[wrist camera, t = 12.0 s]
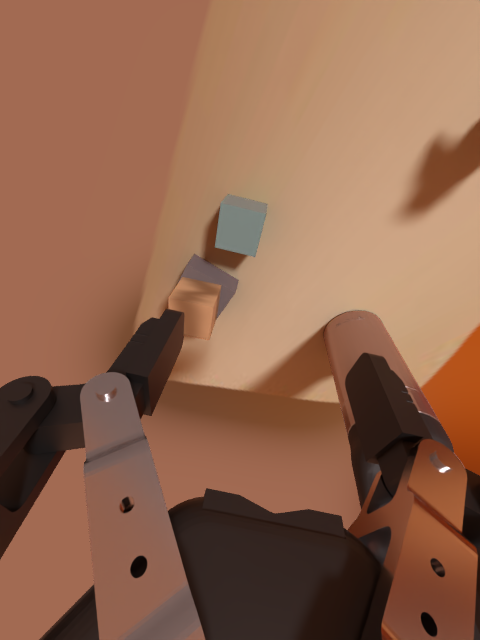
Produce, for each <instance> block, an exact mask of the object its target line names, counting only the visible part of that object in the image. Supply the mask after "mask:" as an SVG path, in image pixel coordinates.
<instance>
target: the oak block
mask: <svg viewBox="0 0 480 640" xmlns="http://www.w3.org/2000/svg"><path fill="white" fill-rule="evenodd" d="M220 292H221V285H218V284H214V283H209V282H204V281H200V280H195V279H190V278H185V277H182V278H181V280H180V281H179V283H178V284H177V286H176V287H175V289H174V290H173V292H172V293H171V295H170V296H169V298H168V307H169V309H171V310H176V311H180V312H184V315H185V317H184V335H186V336H191V337H195V338H200V339H205V340H209V339H210V336H211V333H212V330H213V327H214V324H215V321H216V318H217V313H218V306H219V299H220Z"/></svg>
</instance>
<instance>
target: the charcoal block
mask: <svg viewBox="0 0 480 640" xmlns="http://www.w3.org/2000/svg"><path fill="white" fill-rule="evenodd" d="M182 277H185V278H190V279H195V280H200V281H204V282H209V283H214V284H218V285H221V292H220V299H219V306H218V313H217V318H218V316H219V315H220V314H221V312H222V311H223V309H224V308H225V307H226V305H227V304H228V302H229V301H230V299H231V298H232V297H233V295H234V294H235V292H236V288H237V284H238V279H236V278H234V277H233V276H231V275H229V274H227V273H226V272H224V271H222V270H221V269H219V268H217V267H216V266H214V265H212V264H211V263H209V262H207V261H206V260H204V259H202V258H201V257H199V256H197V255H196V254H194V255H193V257H192V258H191V260H190V261H189V262H188V264H187V266H186V268H185V270H184V272H183V274H182V276H181V278H182ZM181 278H180V280H181ZM180 280H179V281H180ZM178 283H179V282H178ZM217 318H216V319H217Z"/></svg>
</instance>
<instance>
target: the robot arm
mask: <svg viewBox="0 0 480 640" xmlns="http://www.w3.org/2000/svg"><path fill="white" fill-rule="evenodd" d="M184 317H185V315H184V312H180V311H176V310H171V309H166V310H165V311H164V313H163V314H162V316H161V318H160V319H157V318H150V319H149V320H147V321H146V322H144V323H142V324H141V326H140V327H139V328H138V330H137V331H136V333H135V334H134V335H133V337H132V338H131V340H130V342H128V344H127V345H126V347H125V348H124V350H123V351H122V352H121V354H120V355H119V356H118V358H117V359H116V360H115V362H114V363H113V365H112V366H111V367H110V369H109V370H108V371H107V372H106V373H103V374H100V375H97V376H95V377H93V378H92V379H90V380H89V381H88V382H87V383H85V384H80V385H69V386H54V387H52V386H51V384H50V382H49V381H48V380H47V379H45V378H43V377H39V376H28V377H22V378H19V379H16V380H13V381H11V382H9V383H7V384H6V385H4V386H2V387H1V388H0V559H1V557H2V556H3V554H4V552H5V551H6V549H7V547H8V546H9V544H10V542H11V541H12V539H13V537H14V535H15V534H16V532H17V531H18V529H19V527H20V526H21V524H22V522H23V521H24V519H25V517H26V516H27V514H28V513H29V511H30V509H31V507H32V506H33V504H34V502H35V501H36V499H37V498H38V496H39V494H40V492H41V491H42V489H43V488H44V486H45V484H46V483H47V481H48V479H49V478H50V476H51V474H52V473H53V471H54V469H55V468H56V466H57V465H58V463H59V461H60V460H61V458H62V456H63V455H64V453H65V451H66V450H71V449H78V448H86V461H85V462H84V482H85V493H86V503H87V513H88V524H89V534H90V545H91V555H92V567H93V577H94V585H93V586H92V587H91V588H90V589H89V590H88V591H87V592H86V593H85V594H84V595H83V596H82V597H81V598H80V599H79V600H78V601H77V602H76V603H75V604H74V605H73V606H72V607H71V608H70V609H69V610H68V611H67V612H66V613H65V614H64V615H63V616H62V617H61V618H60V619H59V620H58V621H57V622H56V623H55V624H54V625H53V626H52V627H51V628H50V630H48V631H47V632H46V633H45V634H44V635H43V636H42V637H41V638H40V639H39V640H480V476H479V475H477V474H475V473H473V472H471V471H469V470H467V469H465V468H464V466H463V464H462V463H461V461H460V460H459V459H458V457H457V456H456V455H455V454H454V450H453V446H452V443H451V441H450V439H449V438H448V436H447V434H446V432H445V430H444V429H443V427H442V426H441V424H440V422H439V420H438V418H437V416H436V415H435V413H434V411H433V409H432V408H431V406H430V404H429V403H428V401H427V399H426V398H425V396H424V394H423V392H422V391H421V389H420V387H419V385H418V384H417V382H416V380H415V379H414V377H413V375H412V373H411V372H410V370H409V368H408V366H407V365H406V363H405V361H404V359H403V358H402V356H401V354H400V353H399V351H398V349H397V347H396V346H395V344H394V342H393V340H392V339H391V337H390V335H389V333H388V332H387V330H386V328H385V327H384V325H383V323H382V321H381V320H380V318H378V317H377V316H376V315H374V314H373V313H370V312H367V311H350V312H346V313H343V314H341V315H339V316H337V317H335V318H334V319H333V320H332V321H330V322H329V324H328V325H327V326H326V328H325V331H324V341H325V345H326V349H327V353H328V358H329V362H330V366H331V370H332V374H333V378H334V382H335V386H336V390H337V394H338V398H339V402H340V406H341V411H342V414H343V418H344V422H345V426H346V430H347V435H348V439H349V443H350V448H351V460H352V467H353V471H354V476H355V481H356V486H357V490H358V496H359V501H360V506H361V512H360V514H359V516H358V517H357V519H356V520H355V521H354V522H353V523H352V525H351V526H350V527H349V529H348V530H346V529H345V528H343V522H342V517H341V516H339V515H333V514H329V513H324V512H319V511H314V510H309V509H308V510H300V511H293V512H285V513H278V514H277V513H276V514H275V513H272V512H269V511H268V510H266V509H264V508H262V507H260V506H259V505H257V504H255V503H253V502H251V501H249V500H248V499H246V498H244V497H242V496H240V495H236V494H232V493H227V492H222V491H217V490H212V489H206V491H205V495H204V497H198V498H193V499H190V500H187V501H184V502H182V503H180V504H178V505H176V506H175V507H173V508H171V509H170V510H169V511H167V507H166V504H165V500H164V497H163V493H162V489H161V486H160V482H159V479H158V475H157V472H156V468H155V465H154V461H153V458H152V454H151V451H150V447H149V444H148V441H147V438H146V436H145V434H144V432H143V428H142V424H141V420H140V419H141V417H142V415H143V414H145V415H149V416H152V413H153V411H154V409H155V407H156V404H157V402H158V400H159V398H160V395H161V393H162V391H163V389H164V386H165V384H166V382H167V380H168V378H169V375H170V373H171V371H172V369H173V366H174V364H175V362H176V360H177V357H178V355H179V353H180V350H181V348H182V344H183V338H184Z"/></svg>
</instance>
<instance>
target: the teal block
mask: <svg viewBox="0 0 480 640" xmlns="http://www.w3.org/2000/svg"><path fill="white" fill-rule="evenodd" d="M266 212H267V204H266V203H262V202H258V201H254V200H250V199H246V198H242V197H238V196H234V195H230V194H228V195H227V196H226V197H225V198H224V200H223V201H222V202H221V205H220V213H219V220H218V227H217V234H216V241H215V248H220V249H224V250H228V251H232V252H236V253H240V254H244V255H249V256H253V257H255V256H256V252H257V248H258V244H259V240H260V237H261V233H262V229H263V225H264V221H265V217H266Z"/></svg>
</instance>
